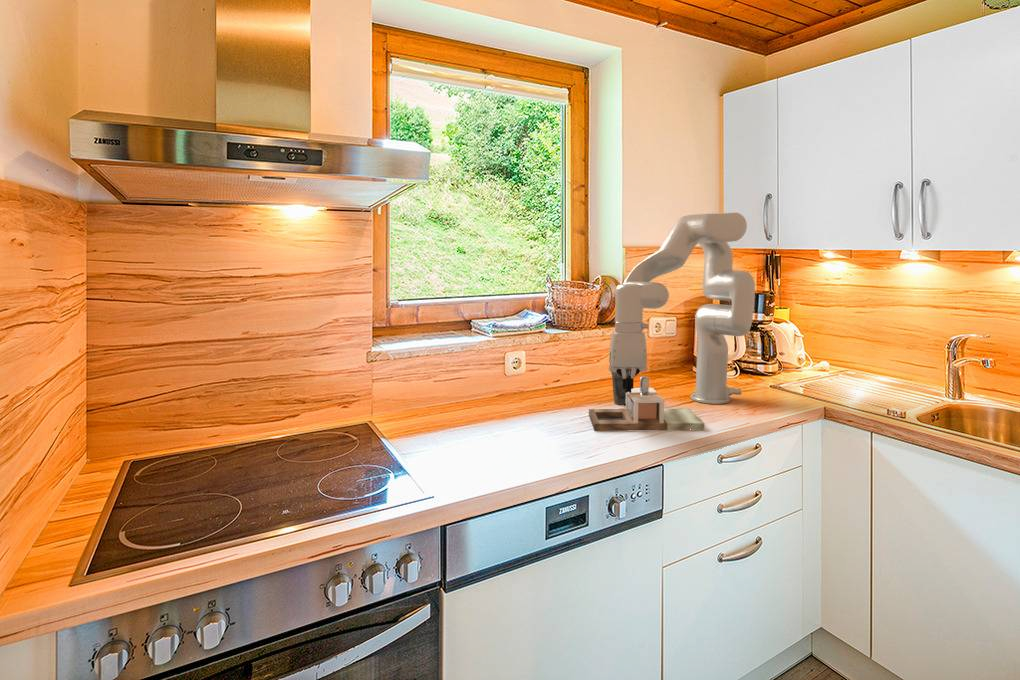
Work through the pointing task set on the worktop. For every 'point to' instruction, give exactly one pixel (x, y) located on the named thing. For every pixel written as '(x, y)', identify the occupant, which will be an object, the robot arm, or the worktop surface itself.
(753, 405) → the worktop surface
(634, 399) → the toy bench
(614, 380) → the beverage cup
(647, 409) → the block
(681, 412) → the board
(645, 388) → the slider
